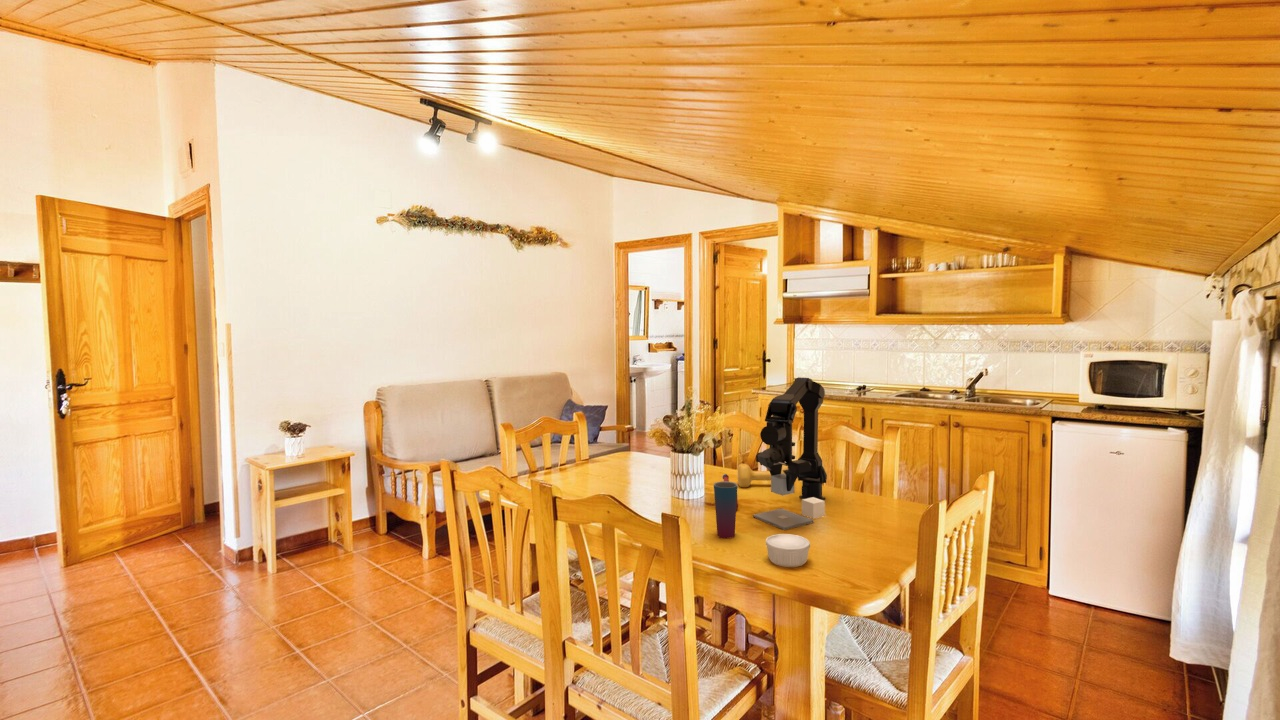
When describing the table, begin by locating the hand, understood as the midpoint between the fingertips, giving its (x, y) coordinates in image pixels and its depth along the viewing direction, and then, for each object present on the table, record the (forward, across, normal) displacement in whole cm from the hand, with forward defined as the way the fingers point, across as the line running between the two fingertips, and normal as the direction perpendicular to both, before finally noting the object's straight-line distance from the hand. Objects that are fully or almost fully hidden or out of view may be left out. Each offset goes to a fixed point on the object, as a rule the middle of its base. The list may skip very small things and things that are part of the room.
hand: (782, 489), depth 189 cm
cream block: (+10, +2, +11) cm, 15 cm away
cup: (+10, +1, -23) cm, 25 cm away
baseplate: (+10, 0, 0) cm, 10 cm away
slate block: (+1, 0, 0) cm, 1 cm away
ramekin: (+10, +24, -21) cm, 33 cm away
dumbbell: (+10, -32, +21) cm, 40 cm away
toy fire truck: (+10, -20, -6) cm, 23 cm away
